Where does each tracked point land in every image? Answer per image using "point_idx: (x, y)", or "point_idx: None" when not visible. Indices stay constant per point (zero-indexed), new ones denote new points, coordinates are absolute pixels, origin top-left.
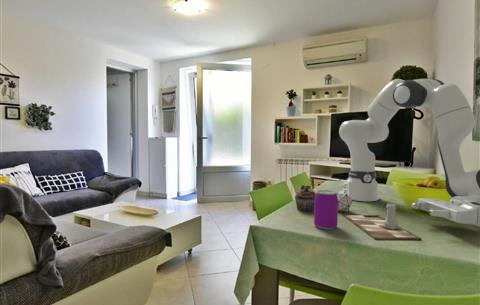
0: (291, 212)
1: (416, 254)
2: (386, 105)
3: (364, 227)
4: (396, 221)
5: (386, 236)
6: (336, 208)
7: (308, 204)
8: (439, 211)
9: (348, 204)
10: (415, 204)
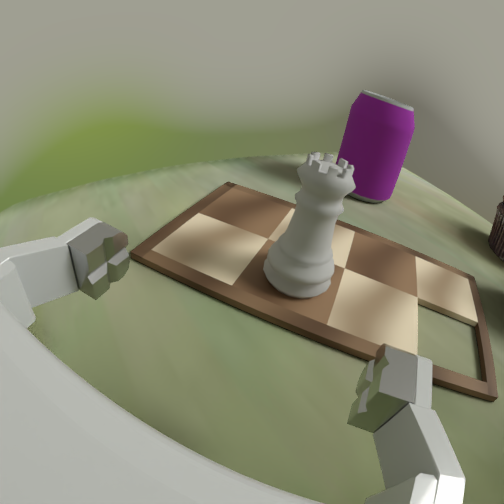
0: (471, 218)
1: (108, 178)
2: None
3: None
4: (281, 251)
5: (220, 201)
6: (352, 133)
7: (496, 223)
8: (46, 244)
9: None
10: (380, 352)
